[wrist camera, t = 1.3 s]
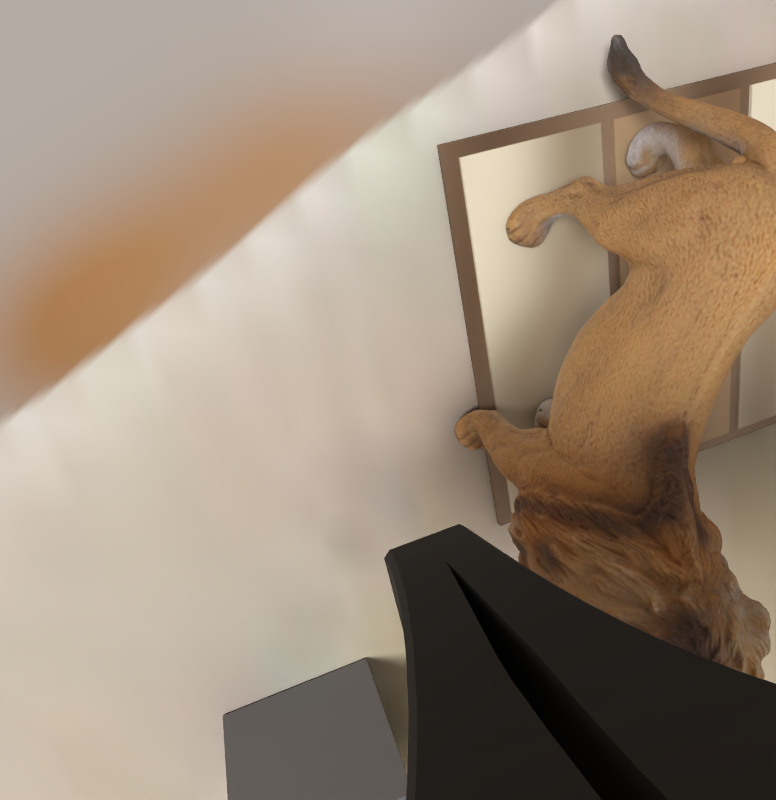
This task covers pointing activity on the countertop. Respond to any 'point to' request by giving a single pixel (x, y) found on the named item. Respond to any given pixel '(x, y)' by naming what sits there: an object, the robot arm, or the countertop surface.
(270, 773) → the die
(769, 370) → the brown framed panel
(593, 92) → the countertop surface
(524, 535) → the lion figurine
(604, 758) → the robot arm
